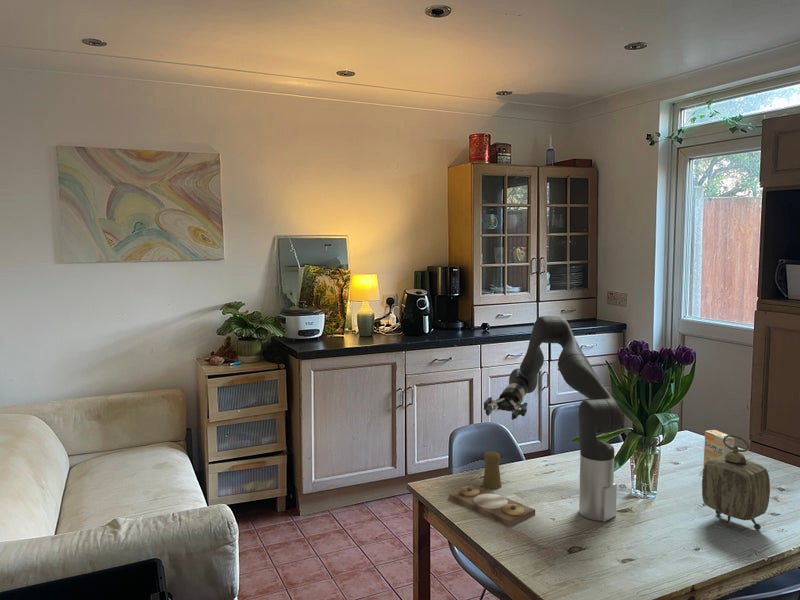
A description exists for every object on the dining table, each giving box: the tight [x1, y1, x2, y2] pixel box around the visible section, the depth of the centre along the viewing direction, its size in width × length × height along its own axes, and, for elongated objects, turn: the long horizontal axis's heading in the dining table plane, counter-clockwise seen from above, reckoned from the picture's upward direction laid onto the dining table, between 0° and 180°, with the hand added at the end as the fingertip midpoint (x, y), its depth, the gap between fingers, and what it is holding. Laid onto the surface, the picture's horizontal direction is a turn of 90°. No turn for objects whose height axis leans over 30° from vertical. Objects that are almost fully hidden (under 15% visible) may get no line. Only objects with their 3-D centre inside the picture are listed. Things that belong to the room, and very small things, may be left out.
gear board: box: [448, 484, 536, 527], centre depth 175 cm, size 24×11×3 cm, turn 40°
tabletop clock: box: [701, 434, 771, 531], centre depth 162 cm, size 14×9×25 cm, turn 32°
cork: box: [482, 450, 502, 490], centre depth 190 cm, size 6×6×11 cm
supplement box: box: [702, 429, 735, 468], centre depth 201 cm, size 8×5×13 cm, turn 17°
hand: (500, 415), depth 197 cm, fingers open, 8 cm apart
